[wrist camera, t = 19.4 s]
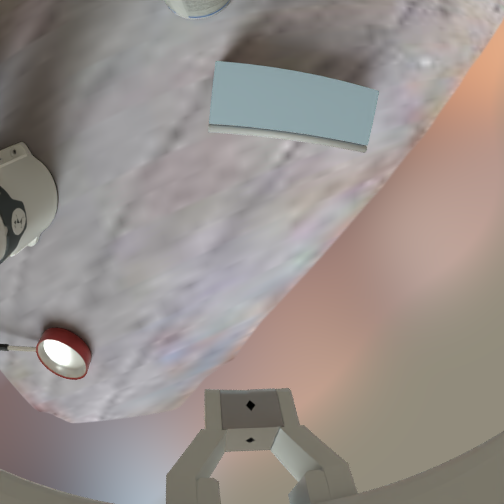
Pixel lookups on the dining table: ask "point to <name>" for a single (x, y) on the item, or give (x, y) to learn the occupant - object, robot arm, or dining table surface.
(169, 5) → the supplement tub
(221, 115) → the cover
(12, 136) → the dining table surface
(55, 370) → the frying pan
